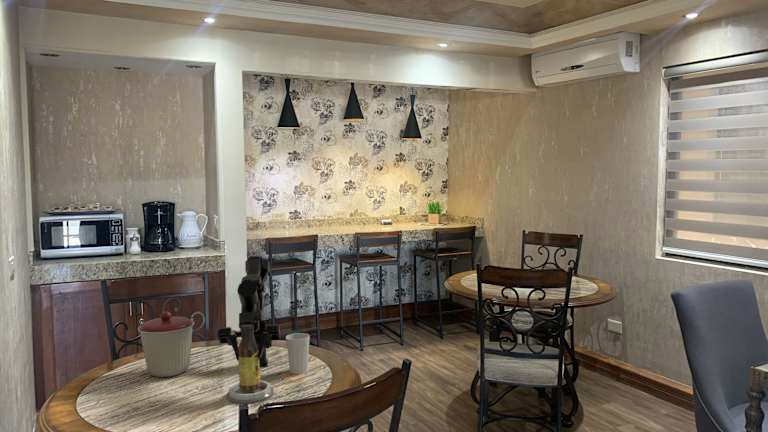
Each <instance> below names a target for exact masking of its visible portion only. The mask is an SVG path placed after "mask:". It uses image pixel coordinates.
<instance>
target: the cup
mask: <svg viewBox="0 0 768 432" xmlns="http://www.w3.org/2000/svg"><path fill="white" fill-rule="evenodd" d="M285 343H286V349H287V356H288V364H289V373H290V374H291V375H292V374H293V375H303V374H306V373H308V372H309V354H310V353H309V352H310V350H309V349H310V334H309V333H306V332H305V333H303V332H302V333H301V332H299V333H298V332H296V333H290V334H287V335H285Z"/></svg>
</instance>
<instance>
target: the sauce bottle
mask: <svg viewBox="0 0 768 432" xmlns="http://www.w3.org/2000/svg"><path fill="white" fill-rule="evenodd" d="M240 329H241V336H242V337H240V338H241V341H240V343H238V354H239V356H238V360H237V362H238V377H239V382H238V383H240V389H241V390H243V391H254V390H256V389H258V388H259V387H260V380H261V369H260V368H261V367H260V363H259V358H258V353H259V348H258V346H257V343H256V341H255V338H254V324H253V323H245V324H241V325H240V328H239V330H240Z"/></svg>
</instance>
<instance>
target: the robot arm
mask: <svg viewBox="0 0 768 432" xmlns="http://www.w3.org/2000/svg"><path fill="white" fill-rule="evenodd" d="M270 266H271V265H270V261H269V260H268V259H266V258H263V256H261V255H252V256H249V257H248V258H247V259H246V260H245V273H246V275H245V276H243V277H241V281H240V283H239V284H238V287H237V289H236V291H237V295H238V299H239V301H240V302H239V303H240V304H241V309H240V310H241V312H239V313H238V328H239V330H234V329H232V327H231V326H228V327H227V326H226V327H225V326H224V327H223V326H222V327H219V328H218V329H217V331H216V332H217V334H216V335H217V339H218V342H219V344H224V345H225V344H227V346H231V348H232V350H233V352H234V355H235V359H236V361H238V356H239V354H238V346H239V343H238V338H241V337H242V336H241V329H240V325H241V324H245V323H253V324H254V338H255V341H256V343H257V346H258V348H259V353H258V358H259V363H260V368H261V367H268V364H269V359H268V358H267V349H270V348H271V347H272V341H273V342H274V341H280V340H281V327H280V325H279V324H266V322H265V321H264V292H265V290H266V285H265V284H266V282H267V280H268V278H269V273H270V271H271V270H270V269H271V267H270Z"/></svg>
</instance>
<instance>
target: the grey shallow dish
mask: <svg viewBox="0 0 768 432" xmlns="http://www.w3.org/2000/svg"><path fill="white" fill-rule="evenodd" d="M274 393H275V392H274V388H273V386H271V383H270V382H268V381H267V380H261V379H260V387H259V388H258V389H256V390H254V391H243V390H241V389H240V382H237V383H236V382H235V383H234V384H232V385H231V386H230V387H229V391H227V393H226V400H227V401H228V402H230V403H233V404H239V405H248V404H249V405H250V404H256V403H261V402H263V401H266V400H268V399H270V398H271V397H272V396H273V395H274Z"/></svg>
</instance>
